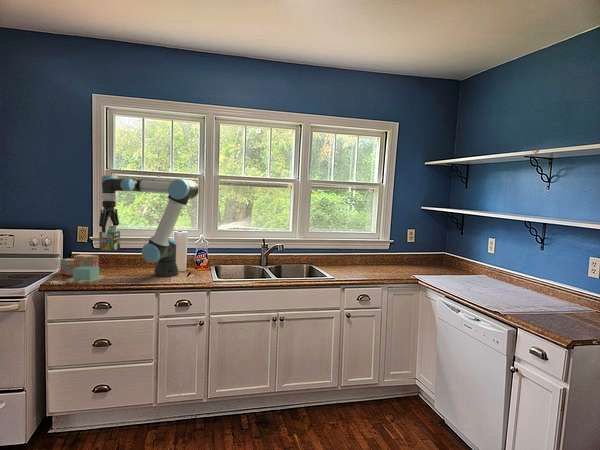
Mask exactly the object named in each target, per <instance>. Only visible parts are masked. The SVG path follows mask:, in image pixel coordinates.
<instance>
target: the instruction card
mask: <svg viewBox="0 0 600 450" xmlns="http://www.w3.org/2000/svg"><path fill="white" fill-rule="evenodd" d="M50 282H51V283H50V284H49V285H58V284H59V283H60V284H61V283H62V284H61V285H64V284H68V283H67V282H64V280H51V281H50ZM52 282H53V284H52ZM45 283H46V282H45ZM45 283H44V285H46V284H45ZM63 283H64V284H63Z"/></svg>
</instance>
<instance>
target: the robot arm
mask: <svg viewBox="0 0 600 450" xmlns="http://www.w3.org/2000/svg"><path fill="white" fill-rule="evenodd" d="M199 191H200V188H199V185H198V183H196V181H194V180H192V179H184V178H178V179H177V178H176V179H174V180H172V181H164V180H163V181H162V180H161V181H160V180H145V179H143V180H142V179H132V178H116V176H115V175H102V176H101V194H102V197H101V198H102V199H101V200H102V201H101V202H102V203H101V205H102V207H103V209H100V216H99V223H98V226H99V227H101V232H102V237H104V238H107V231H108V227H107V223H108V220H109V218H110V220H111V224H112V226H113V228H112V231H118V226H119V224H120V221H119V215H118V209H117V208H116V207H117V206H116V204H117V202H116V192H136V193H137V192H139V193H152V194H153V193H154V194H167V198H168V203H166V207H165V210H164V212H163V214H162V217H161V219H160V221H159V223H158V225H157V228H156V230H155V233H154V235H153V236H150V238H149V240H148V242H147V243H146V244H144V245H142V248H141V256H142V258H143V260H145V261H146V262H147V263H149V264H150V263H156V265H155V268H154V270H153V275H154V276H155V277H161V278H163V277H166V278H169V277H176V276H178V275H179V274H180V272H179V267H178V263H177V241H176V239H171V238H170V237H171V235H172V232H173V230H174V228H175V226H176V223H177V221H178V219H179V216H180V214H181V212H182V211H183V210H182V209H183V207H185V206H187V204H188V202H189V200H191V199H194V198H195V197H196V196H198V194H199Z"/></svg>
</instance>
